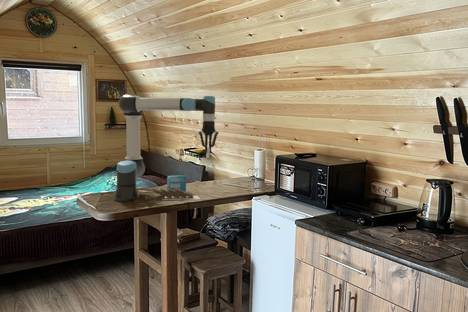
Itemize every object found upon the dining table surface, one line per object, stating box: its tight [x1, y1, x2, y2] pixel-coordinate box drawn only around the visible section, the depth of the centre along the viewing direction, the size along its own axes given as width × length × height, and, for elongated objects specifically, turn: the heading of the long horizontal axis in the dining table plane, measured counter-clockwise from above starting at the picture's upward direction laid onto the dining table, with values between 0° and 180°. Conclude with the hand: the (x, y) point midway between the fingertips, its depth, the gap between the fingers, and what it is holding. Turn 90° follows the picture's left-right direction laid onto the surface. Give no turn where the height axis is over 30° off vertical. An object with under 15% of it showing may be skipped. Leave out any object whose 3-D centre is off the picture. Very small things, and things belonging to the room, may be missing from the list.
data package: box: [166, 174, 187, 192], centre depth 284 cm, size 12×4×12 cm, turn 119°
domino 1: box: [144, 194, 165, 201], centre depth 263 cm, size 2×5×12 cm
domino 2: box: [152, 187, 172, 198], centre depth 264 cm, size 2×5×12 cm
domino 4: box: [166, 188, 186, 198], centre depth 267 cm, size 2×5×12 cm
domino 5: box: [174, 188, 194, 198], centre depth 268 cm, size 2×5×12 cm
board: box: [161, 195, 201, 201], centre depth 268 cm, size 24×10×1 cm, turn 106°
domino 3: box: [159, 188, 180, 199], centre depth 266 cm, size 2×5×12 cm
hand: (207, 157), depth 270 cm, fingers closed
